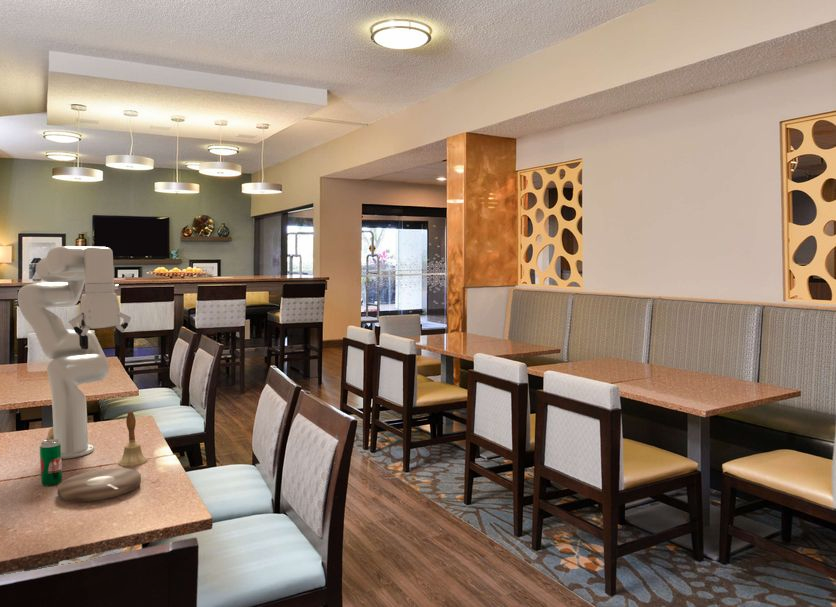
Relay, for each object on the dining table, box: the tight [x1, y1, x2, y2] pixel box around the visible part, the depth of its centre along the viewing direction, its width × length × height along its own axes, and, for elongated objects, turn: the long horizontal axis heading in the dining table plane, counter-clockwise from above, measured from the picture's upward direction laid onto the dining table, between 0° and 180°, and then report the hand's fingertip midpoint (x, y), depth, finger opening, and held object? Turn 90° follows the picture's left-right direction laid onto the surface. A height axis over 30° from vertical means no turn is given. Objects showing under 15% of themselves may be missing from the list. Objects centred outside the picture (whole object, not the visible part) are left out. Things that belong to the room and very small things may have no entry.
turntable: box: [57, 467, 142, 502], centre depth 163 cm, size 20×20×2 cm
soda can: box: [39, 439, 63, 487], centre depth 168 cm, size 5×5×12 cm
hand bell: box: [117, 410, 148, 467], centre depth 186 cm, size 8×8×16 cm
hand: (101, 347), depth 177 cm, fingers open, 9 cm apart
